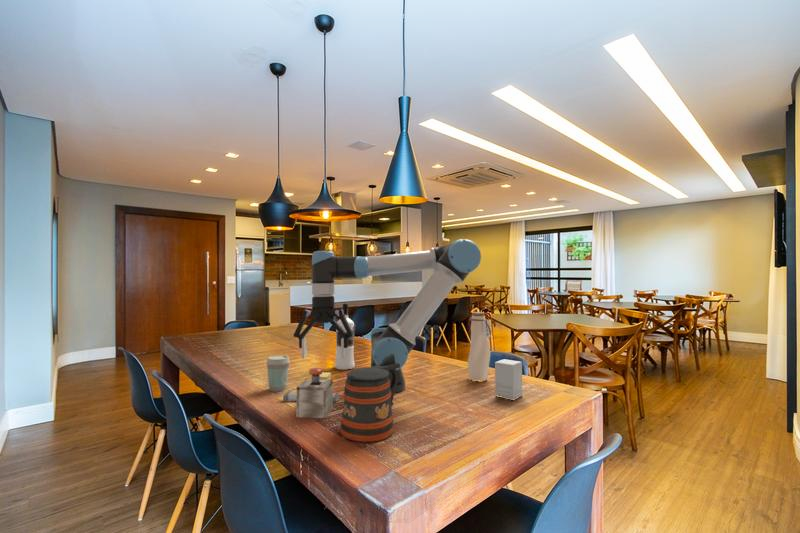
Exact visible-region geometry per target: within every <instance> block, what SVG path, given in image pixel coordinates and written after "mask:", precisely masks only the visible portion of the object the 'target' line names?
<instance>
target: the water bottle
mask: <svg viewBox="0 0 800 533" xmlns="http://www.w3.org/2000/svg"><path fill="white" fill-rule="evenodd" d="M469 321H471V324H470V347H469V348H470V349H469V350H470V351H469V355H468V359H467V371H468V379H469V378H470V379H473V380H485V379H487V378H488V377H489V370H490V367H489V366H490V362H491V345H490V339H489V338H491V337H492V331H491V322H490V319H487V318H486V315H485V312H482V311H474V312H473V311H472V315H471V317H469ZM487 380H488V379H487Z"/></svg>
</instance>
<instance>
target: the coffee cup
mask: <svg viewBox="0 0 800 533" xmlns="http://www.w3.org/2000/svg"><path fill="white" fill-rule="evenodd" d="M265 363H266V365H267V377H268V387H269V389H268V390H269V391H270V392H273V393H278V392H284V391H285V390H286V389H287V384H288V383H287V382H288V375H289V367H290V364H291V360H290V358H289V356H288V355H281V354H279V355H278V354H277V355H271V356H269V357H267V359H266V362H265Z"/></svg>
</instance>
